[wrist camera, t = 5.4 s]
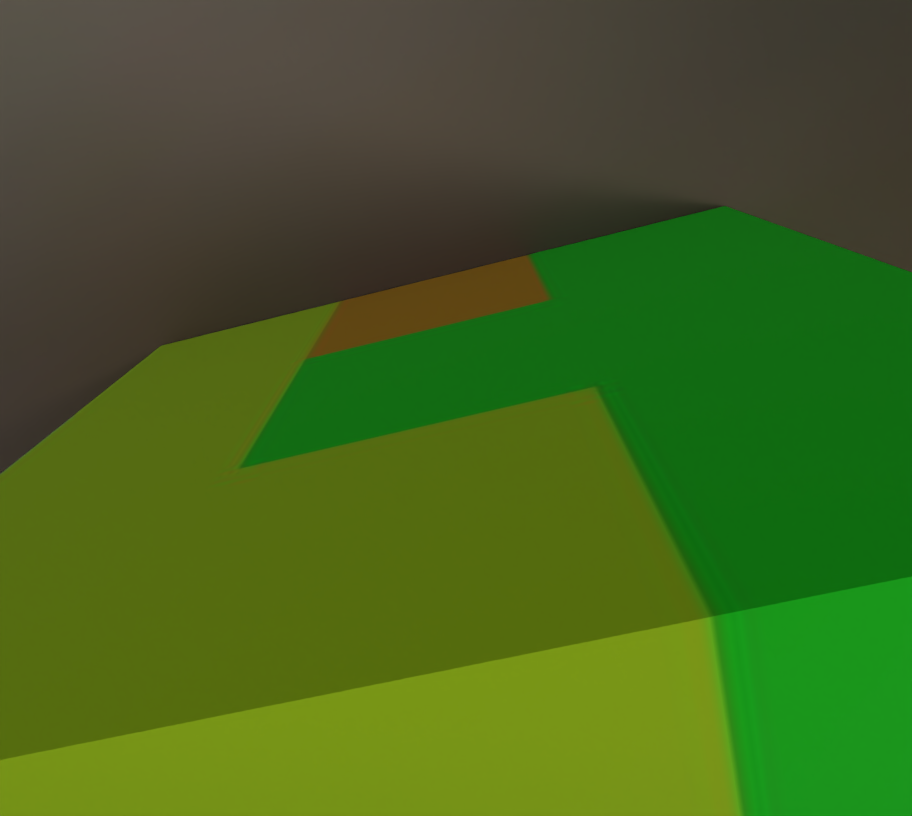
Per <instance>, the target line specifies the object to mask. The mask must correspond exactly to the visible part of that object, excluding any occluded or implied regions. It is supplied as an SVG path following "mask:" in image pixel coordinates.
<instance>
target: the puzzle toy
mask: <svg viewBox="0 0 912 816" xmlns="http://www.w3.org/2000/svg"><path fill="white" fill-rule="evenodd" d="M0 816H912V272H909V271H906V270H904V269H901V268H898V267H895V266H892V265H889V264H887V263H884V262H881V261H878V260H875V259H873V258H870V257H867V256H864V255H861V254H859V253H856V252H853V251H850V250H847V249H844V248H842V247H839V246H836V245H833V244H830V243H828V242H825V241H822V240H819V239H816V238H813V237H811V236H808V235H805V234H802V233H799V232H797V231H794V230H791V229H788V228H785V227H783V226H780V225H777V224H774V223H771V222H768V221H766V220H763V219H760V218H757V217H754V216H752V215H749V214H746V213H743V212H740V211H737V210H735V209H732V208H729V207H726V206H723V207H719V208H715V209H711V210H707V211H703V212H699V213H695V214H691V215H686V216H682V217H678V218H674V219H670V220H666V221H662V222H658V223H654V224H650V225H646V226H642V227H638V228H634V229H630V230H626V231H622V232H618V233H614V234H610V235H606V236H602V237H598V238H594V239H590V240H586V241H582V242H577V243H573V244H569V245H565V246H561V247H557V248H553V249H549V250H545V251H541V252H537V253H533V254H529V255H525V256H521V257H517V258H513V259H509V260H505V261H501V262H497V263H493V264H489V265H485V266H481V267H477V268H473V269H469V270H464V271H460V272H456V273H452V274H448V275H444V276H440V277H436V278H432V279H428V280H424V281H420V282H416V283H412V284H408V285H404V286H400V287H396V288H392V289H388V290H384V291H380V292H376V293H372V294H368V295H364V296H360V297H355V298H351V299H347V300H343V301H339V302H335V303H331V304H327V305H323V306H319V307H315V308H311V309H307V310H303V311H299V312H295V313H291V314H287V315H283V316H279V317H275V318H271V319H267V320H263V321H259V322H255V323H251V324H246V325H242V326H238V327H234V328H230V329H226V330H222V331H218V332H214V333H210V334H206V335H202V336H198V337H194V338H190V339H186V340H182V341H178V342H174V343H170V344H166V345H162V346H160V347H159V348H157V349H156V350H155V351H154V352H152V353H151V354H150V355H149V356H147V357H146V358H145V359H144V360H142V361H141V362H140V363H139V364H137V365H136V366H135V367H134V368H132V369H131V370H130V371H129V372H127V373H126V374H125V375H124V376H122V377H121V378H120V379H119V380H117V381H116V382H115V383H114V384H112V385H111V386H110V387H109V388H107V389H106V390H105V391H104V392H102V393H101V394H100V395H99V396H97V397H96V398H95V399H94V400H92V401H91V402H90V403H88V404H87V405H86V406H85V407H83V408H82V409H81V410H80V411H78V412H77V413H76V414H75V415H73V416H72V417H71V418H70V419H68V420H67V421H66V422H65V423H63V424H62V425H61V426H60V427H58V428H57V429H56V430H55V431H53V432H52V433H51V434H50V435H48V436H47V437H46V438H45V439H43V440H42V441H41V442H40V443H38V444H37V445H36V446H35V447H33V448H32V449H31V450H30V451H28V452H27V453H26V454H25V455H23V456H22V457H21V458H20V459H18V460H17V461H16V462H15V463H13V464H12V465H11V466H10V467H8V468H7V469H6V470H5V471H3V472H2V473H1V474H0Z"/></svg>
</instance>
